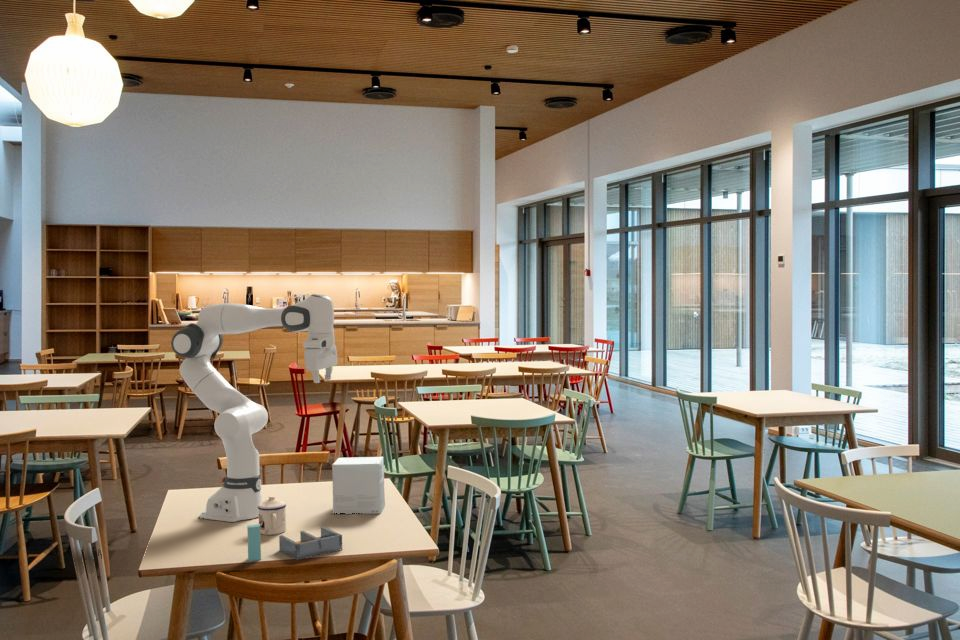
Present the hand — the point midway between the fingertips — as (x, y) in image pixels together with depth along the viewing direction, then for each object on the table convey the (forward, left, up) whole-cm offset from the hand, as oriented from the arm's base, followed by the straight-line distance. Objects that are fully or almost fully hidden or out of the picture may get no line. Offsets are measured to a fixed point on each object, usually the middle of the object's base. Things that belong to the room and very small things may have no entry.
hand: (322, 381), depth 282 cm
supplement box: (+7, +14, -48) cm, 51 cm away
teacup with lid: (-11, -18, -48) cm, 53 cm away
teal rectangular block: (-4, -44, -48) cm, 65 cm away
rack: (+9, -33, -48) cm, 59 cm away
